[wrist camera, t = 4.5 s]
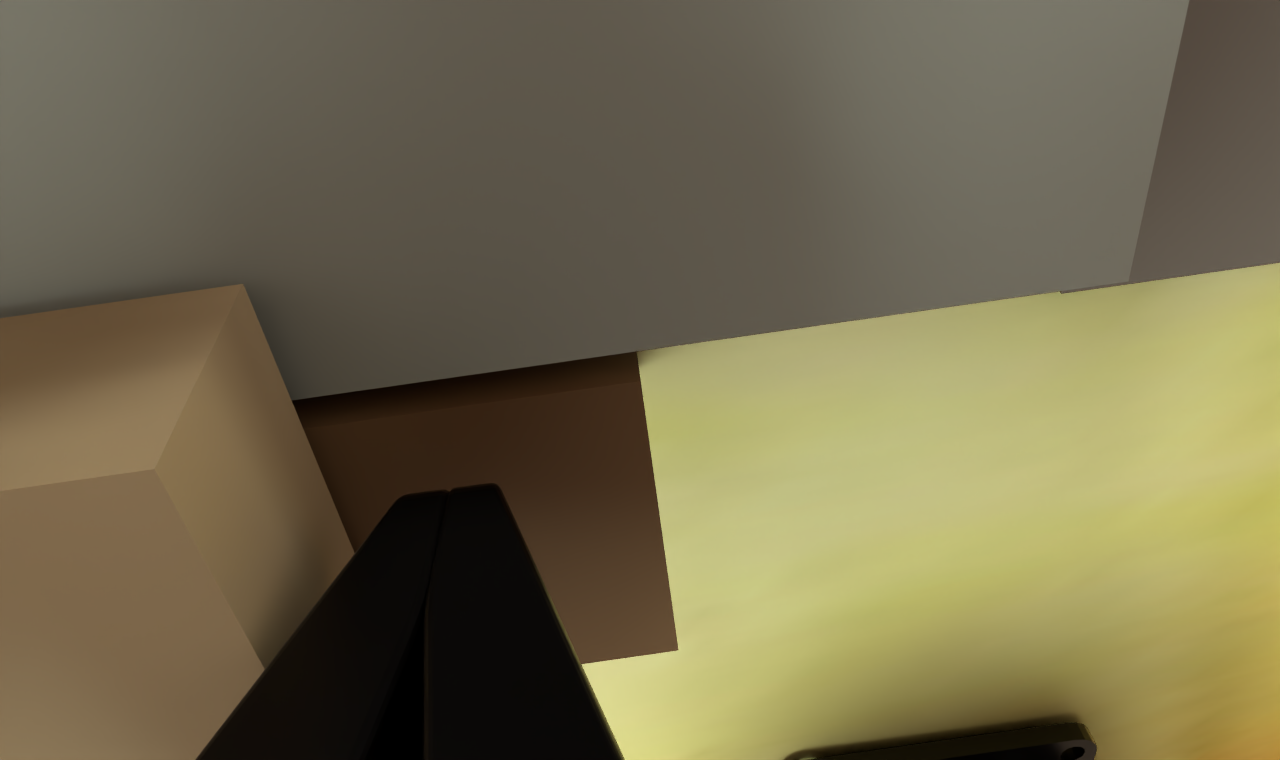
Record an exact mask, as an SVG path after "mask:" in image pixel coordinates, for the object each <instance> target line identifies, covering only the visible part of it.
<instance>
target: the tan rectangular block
mask: <svg viewBox="0 0 1280 760" xmlns="http://www.w3.org/2000/svg"><path fill="white" fill-rule="evenodd" d="M354 554H355V553H354V550H353V548H352V546H351V543H350V541H349V538H348V536H347V534H346V531H345V529H344V526H343V524H342V521H341V519H340V517H339V514H338V512H337V509H336V507H335V505H334V502H333V500H332V497H331V495H330V492H329V490H328V488H327V485H326V483H325V480H324V478H323V476H322V473H321V471H320V468H319V466H318V463H317V461H316V459H315V456H314V454H313V451H312V449H311V447H310V444H309V442H308V439H307V437H306V434H305V432H304V430H303V427H302V425H301V422H300V420H299V418H298V415H297V413H296V410H295V408H294V405H293V403H292V401H291V398H290V396H289V393H288V391H287V389H286V386H285V384H284V381H283V379H282V376H281V374H280V372H279V369H278V367H277V364H276V362H275V360H274V357H273V355H272V352H271V350H270V347H269V345H268V343H267V340H266V338H265V335H264V333H263V331H262V328H261V326H260V323H259V321H258V318H257V316H256V314H255V311H254V309H253V306H252V304H251V302H250V299H249V297H248V294H247V292H246V289H245V287H244V285H243V284H238V285H231V286H224V287H217V288H210V289H203V290H196V291H189V292H181V293H174V294H167V295H160V296H153V297H146V298H139V299H132V300H125V301H118V302H111V303H104V304H97V305H90V306H83V307H76V308H69V309H62V310H55V311H48V312H41V313H34V314H26V315H19V316H12V317H5V318H0V760H195V759H196V758H197V757H198V755H199V754H200V753H201V751H202V750H203V749H204V747H205V746H206V745H207V744H208V742H209V741H210V740H211V738H212V737H213V736H214V735H215V733H216V732H217V731H218V729H219V728H220V727H221V725H222V724H223V723H224V722H225V720H226V719H227V718H228V716H229V715H230V714H231V713H232V711H233V710H234V709H235V707H236V706H237V705H238V704H239V702H240V701H241V700H242V698H243V697H244V696H245V694H246V693H247V692H248V691H249V689H250V688H251V687H252V685H253V684H254V683H255V682H256V680H257V679H258V678H259V676H260V675H261V674H262V672H263V671H264V670H265V669H266V667H267V666H268V665H269V663H270V662H271V661H272V660H273V658H274V657H275V656H276V654H277V653H278V652H279V651H280V649H281V648H282V647H283V645H284V644H285V643H286V641H287V640H288V639H289V638H290V636H291V635H292V634H293V632H294V631H295V630H296V629H297V627H298V626H299V625H300V623H301V622H302V621H303V619H304V618H305V617H306V616H307V614H308V613H309V612H310V610H311V609H312V608H313V607H314V605H315V604H316V603H317V601H318V600H319V599H320V598H321V596H322V595H323V594H324V592H325V591H326V590H327V588H328V587H329V586H330V585H331V583H332V582H333V581H334V579H335V578H336V577H337V576H338V574H339V573H340V572H341V570H342V569H343V568H344V567H345V565H346V564H347V563H348V561H349V560H350V559H351V557H352V556H353V555H354Z"/></svg>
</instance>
